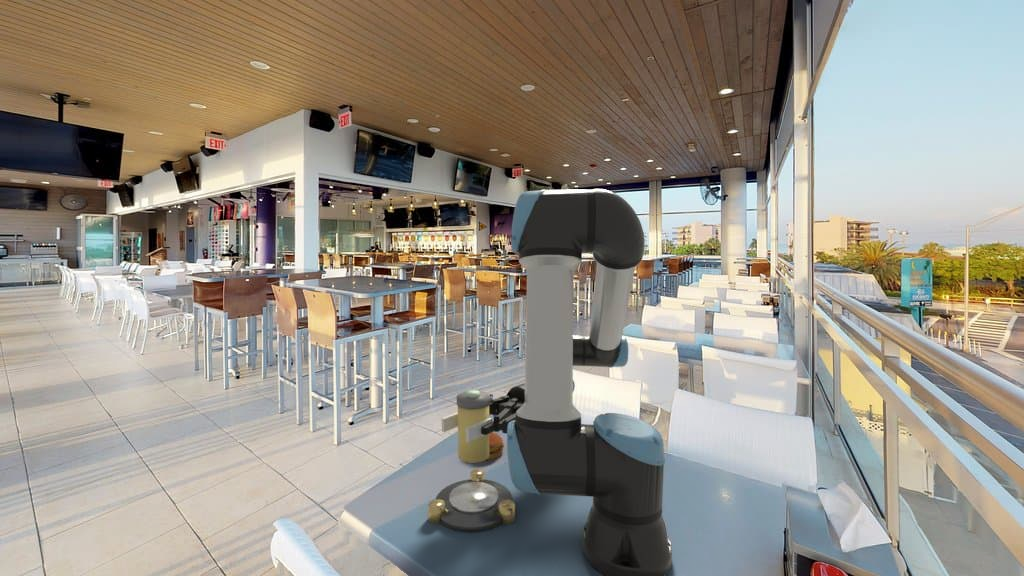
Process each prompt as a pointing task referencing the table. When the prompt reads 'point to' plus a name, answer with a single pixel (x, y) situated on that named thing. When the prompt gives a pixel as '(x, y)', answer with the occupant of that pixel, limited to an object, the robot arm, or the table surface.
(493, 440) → the burger
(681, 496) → the table surface
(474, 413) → the yellow battery cell
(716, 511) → the table surface
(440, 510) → the tribrach
